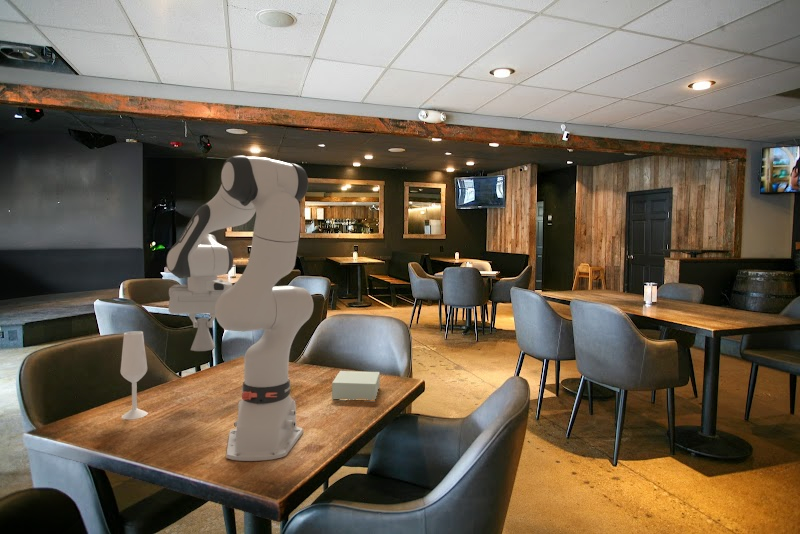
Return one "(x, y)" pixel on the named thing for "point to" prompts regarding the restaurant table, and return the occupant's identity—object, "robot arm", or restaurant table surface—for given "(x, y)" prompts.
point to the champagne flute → (133, 368)
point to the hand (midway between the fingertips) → (203, 327)
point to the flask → (203, 337)
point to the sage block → (356, 385)
